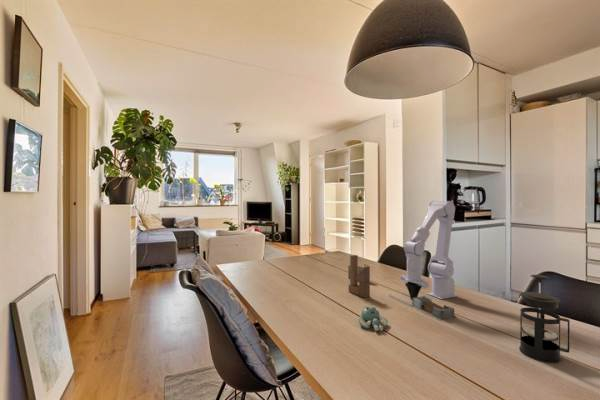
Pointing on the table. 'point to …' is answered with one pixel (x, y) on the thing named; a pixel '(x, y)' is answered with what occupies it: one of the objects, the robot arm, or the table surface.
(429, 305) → the brown bar
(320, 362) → the table surface
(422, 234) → the robot arm
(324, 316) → the table surface
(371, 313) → the stuffed animal
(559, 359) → the french press
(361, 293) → the wooden block
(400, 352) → the table surface
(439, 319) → the track
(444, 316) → the grey c-shaped bracket
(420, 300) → the cap
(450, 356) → the table surface
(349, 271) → the architectural model on board
